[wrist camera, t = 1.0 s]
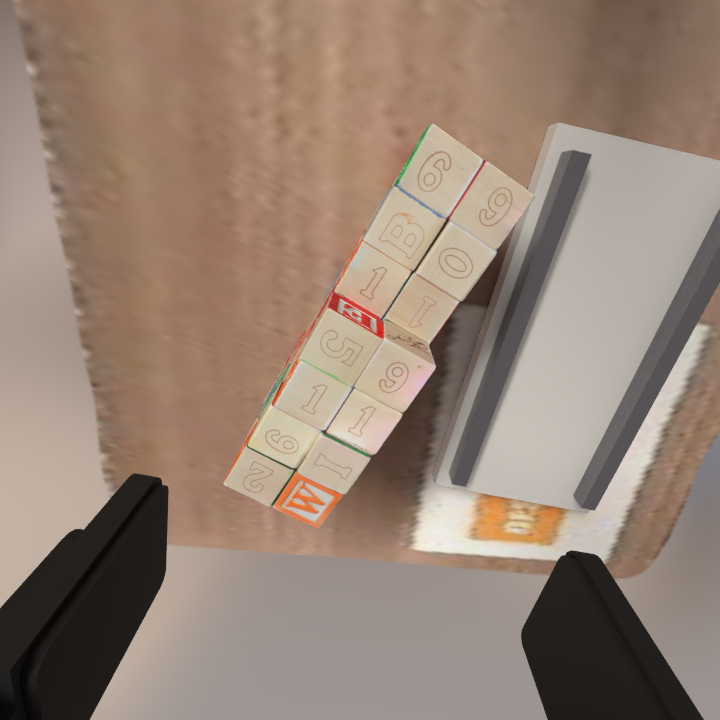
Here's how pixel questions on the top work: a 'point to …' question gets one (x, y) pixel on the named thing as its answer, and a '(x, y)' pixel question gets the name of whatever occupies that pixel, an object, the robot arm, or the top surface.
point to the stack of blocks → (377, 329)
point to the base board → (584, 318)
